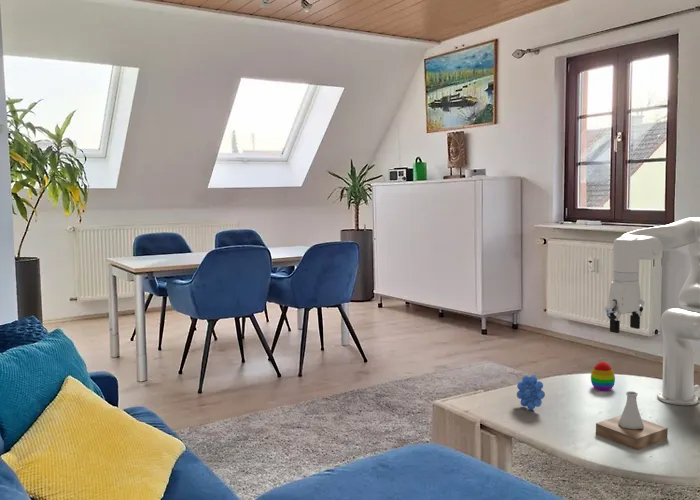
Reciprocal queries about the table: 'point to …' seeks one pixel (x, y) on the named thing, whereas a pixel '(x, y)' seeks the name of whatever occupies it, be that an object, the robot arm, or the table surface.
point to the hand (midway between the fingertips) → (624, 330)
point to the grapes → (530, 392)
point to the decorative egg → (602, 377)
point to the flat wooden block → (631, 433)
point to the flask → (631, 413)
